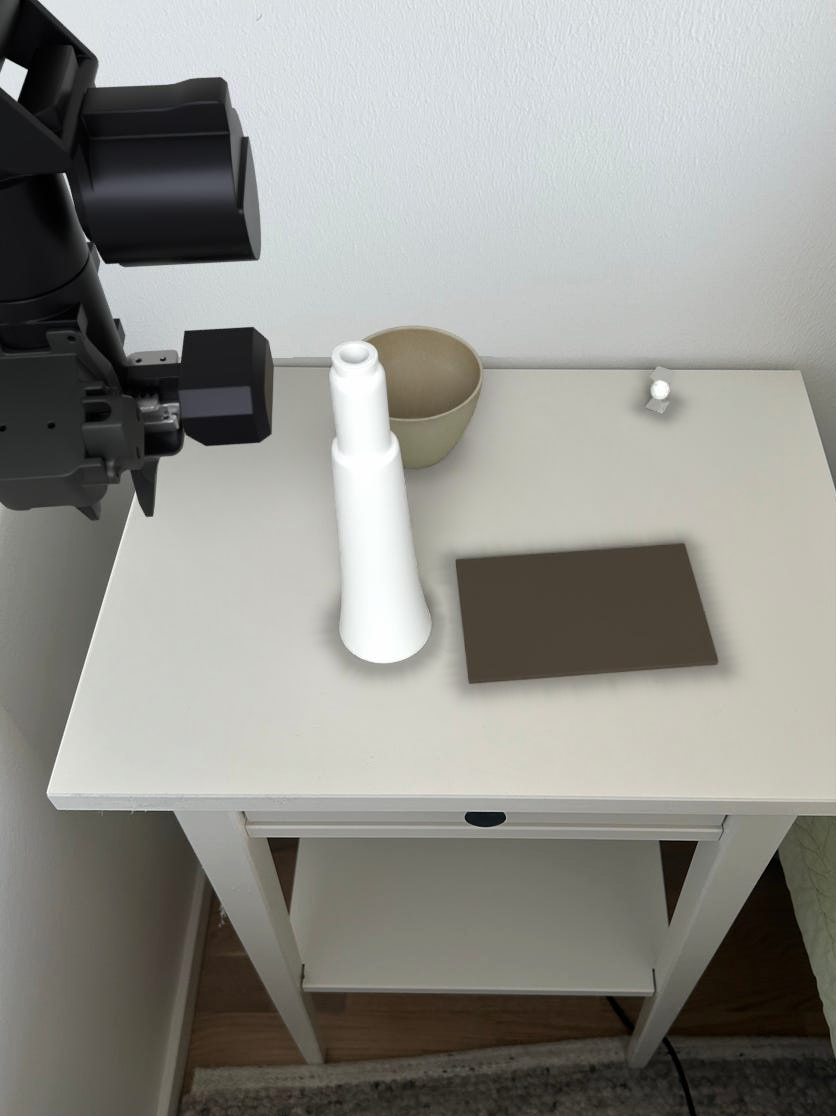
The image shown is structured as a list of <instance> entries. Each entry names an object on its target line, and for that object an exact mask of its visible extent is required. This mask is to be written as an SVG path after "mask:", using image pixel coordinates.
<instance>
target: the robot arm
mask: <svg viewBox="0 0 836 1116" xmlns="http://www.w3.org/2000/svg"><path fill="white" fill-rule="evenodd" d="M6 60H8V61H10V62H12V63H14V64H16V65H17V66H19V67H21V68H23V69H25V70H26V74H25V77H24V79H23V82H22V85H21V89H20V91H19V94H18V97H17V100H16V99H15V98H14V97H13V96H11V95H10V94H9V93H8V92H7V91H5V90H4V89H3V88H2V87H1V86H0V504H2V506H4V507H5V508H7V509H8V510H11V511H16V512H23V511H24V512H25V511H30V510H31V509H40V508H52V507H53V508H55V507H56V508H57V507H74V508H75V509H76V510H78V511H79V512H80V513H81V514H83V515H84V516H85V517H86V518H87V519H88V520H90V521H92V522H96V521H100V518H101V514H102V504H101V500H102V499H103V498H104V497H105V495H106V494H107V492H108V489H109V486H110V485H119V484H121V480H122V479H121V476H122V474H123V473H125V472H126V471H129V472H130V476H131V480H132V484H133V486H134V491H135V495H136V500H137V502H138V505H139V507H140V508H141V510H142V512H143V514H144V516H145V517H146V518H153V517H154V514H155V506H156V496H157V484H158V483H157V481H158V470H159V469H158V468H159V462H160V459H161V458H166V457H174V456H177V455H178V454H179V453H181V451H182V450H183V448H184V444H185V436H186V437H189V438H190V439H192V440H194V441H196V442H197V443H199V444H201V445H203V446H205V447H217V446H218V447H219V446H233V445H235V446H236V445H250V444H260V443H262V442H263V441H265V440H266V439H268V438H269V437H270V436H271V435H272V434H273V410H274V409H273V408H274V407H273V405H274V378H275V371H274V370H275V366H274V360H273V355H272V351H271V344H270V340H269V339H268V338H266V336H264V335H263V334H262V333H261V332H260V331H259V330H258V329H256V328H255V327H254V326H241V327H225V328H210V329H208V328H206V329H191V330H184V331H183V340H182V348H181V356H179V353H178V350H176V349H165V350H164V349H163V350H146V351H145V350H144V351H135V352H133V353H130V354H129V355H126V353H125V348H124V346H125V342H126V341H125V340H126V332H125V329H124V327H123V324H122V321H121V318H120V317H117V318H116V317H115V318H114V317H113V314H112V312H111V309H110V305H109V302H108V300H107V297H106V294H105V291H104V288H103V285H102V283H101V279H100V277H99V270H100V265H101V260H102V262H103V263H104V264H105V265H119V266H120V267H123V268H138V267H139V268H140V267H159V266H177V265H180V266H181V265H198V264H199V265H200V264H215V263H216V264H217V263H219V264H220V263H237V262H238V263H239V262H256V261H257V262H258V261H259V260H260V259H261V253H262V228H261V227H262V224H261V213H260V212H261V210H260V201H259V200H260V199H259V191H258V184H257V175H256V168H255V162H254V156H253V150H252V145H251V139H250V136H248V135H247V136H245V134H244V130H243V126H242V123H241V120H240V117H239V114H238V112H237V109H236V108H234V107H233V105H232V100H231V95H230V89H229V83H228V82H227V80H225V78H223V77H221V76H211V77H209V76H208V77H194V78H188V79H184V80H181V81H178V82H175V83H169V84H168V83H167V84H149V85H123V86H121V85H120V86H96V78H97V75H98V70H99V67H100V65H99V63H100V62H99V59H98V57H97V55H96V54H95V53H93V51H92V50H91V49H89V47H88V46H86V45H85V44H84V42H82V41H81V40H80V39H79V38H78V37H77V36H76V35H75V34H74V33H73V32H72V31H71V30H70V29H69V28H68V27H67V26H65V24H64V23H63V22H61V21H60V20H59V18H57V17H56V16H55V15H54V14H53V13H52V12H51V11H50V10H49V9H48V8H47V7H46V6H45V5H44V4H43V3H41V1H39V0H0V73H1V72H2V70H3V67H4V65H5V61H6ZM64 174H65V175H64ZM65 176H66V178H65ZM66 179H67V181H66ZM67 183H68V184H67ZM68 185H69V187H68ZM87 240H88V241H87ZM100 258H101V259H100Z"/></svg>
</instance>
